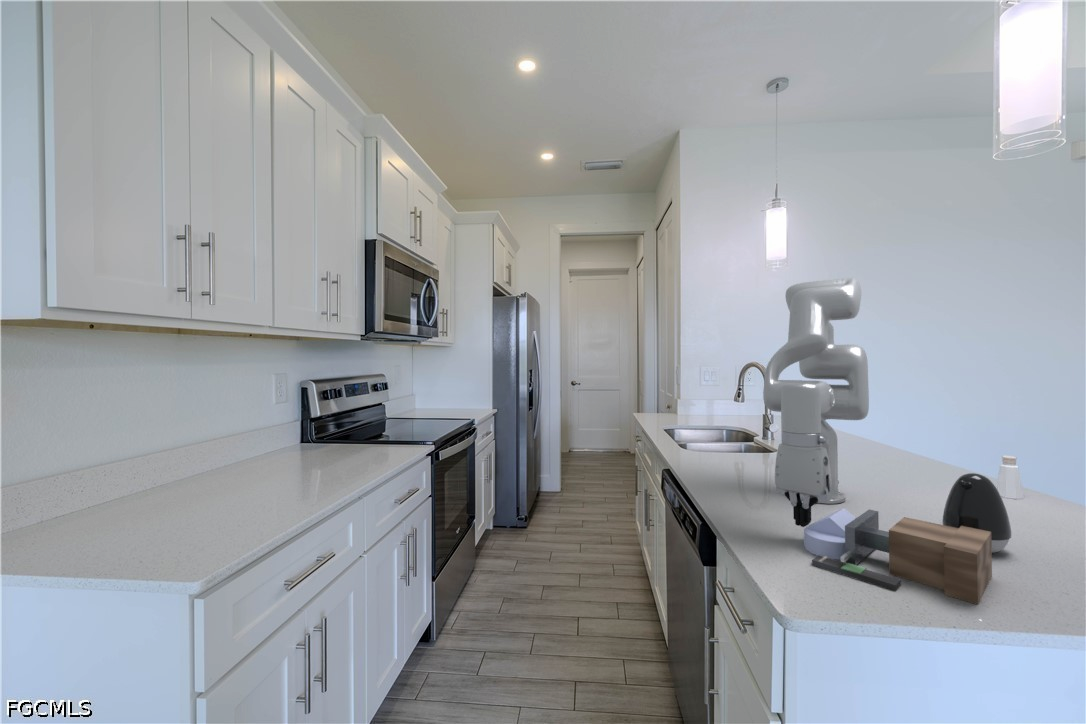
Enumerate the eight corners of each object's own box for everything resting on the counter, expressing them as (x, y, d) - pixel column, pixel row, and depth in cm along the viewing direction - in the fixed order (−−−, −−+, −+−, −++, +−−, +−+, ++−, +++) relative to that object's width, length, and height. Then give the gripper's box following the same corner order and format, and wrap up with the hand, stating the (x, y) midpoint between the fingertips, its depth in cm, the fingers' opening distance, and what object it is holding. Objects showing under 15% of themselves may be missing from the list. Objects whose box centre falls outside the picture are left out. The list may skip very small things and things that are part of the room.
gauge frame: (846, 539, 99) (846, 502, 99) (992, 576, 81) (991, 531, 81) (812, 564, 87) (811, 523, 87) (972, 615, 69) (971, 562, 69)
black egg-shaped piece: (931, 543, 96) (930, 471, 95) (959, 534, 100) (957, 465, 100) (994, 563, 86) (993, 482, 86) (1022, 552, 90) (1021, 476, 90)
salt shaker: (991, 492, 128) (990, 453, 128) (1015, 494, 127) (1015, 454, 127) (1003, 498, 123) (1003, 457, 123) (1029, 500, 122) (1028, 458, 121)
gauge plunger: (869, 542, 95) (869, 509, 95) (934, 559, 87) (933, 522, 87) (837, 569, 84) (836, 531, 84) (908, 590, 76) (907, 548, 76)
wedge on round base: (821, 533, 102) (797, 549, 94) (821, 503, 102) (796, 516, 94) (869, 545, 95) (847, 564, 87) (868, 513, 95) (846, 528, 87)
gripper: (847, 442, 95) (848, 530, 95) (774, 434, 107) (775, 512, 107) (832, 446, 90) (834, 539, 90) (758, 437, 102) (759, 519, 102)
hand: (802, 524), depth 99 cm, fingers closed
